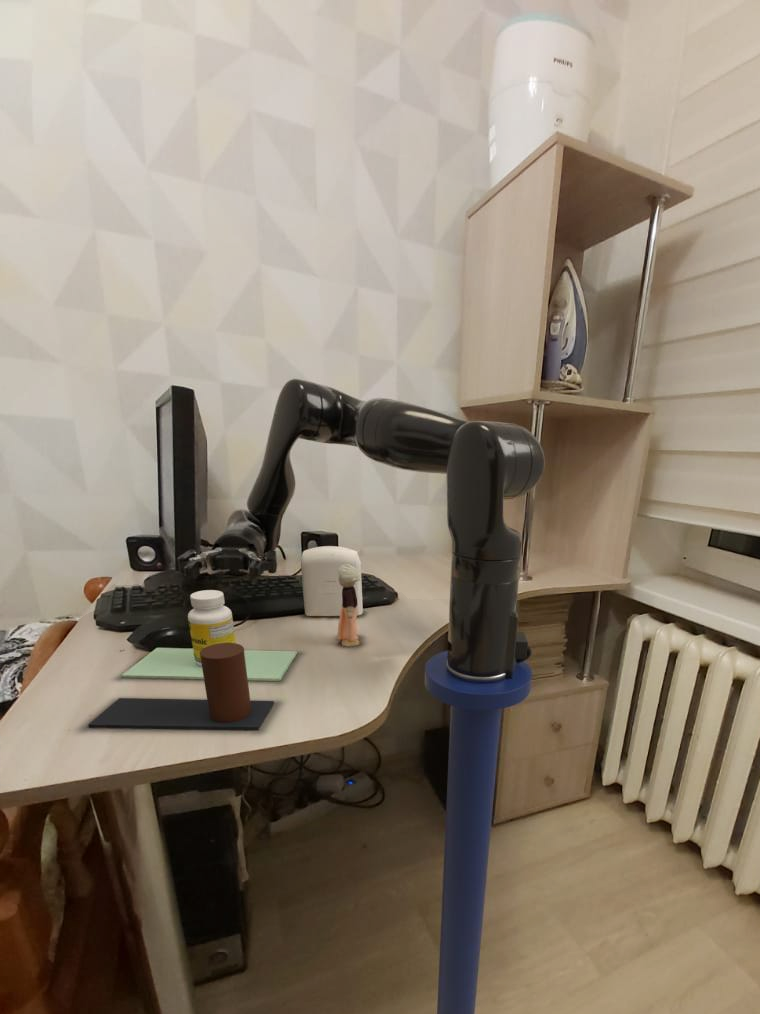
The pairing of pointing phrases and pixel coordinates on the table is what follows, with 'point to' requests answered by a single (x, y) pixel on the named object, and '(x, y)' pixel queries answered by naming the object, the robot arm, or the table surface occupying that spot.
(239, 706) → the brown cylinder
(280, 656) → the pale mat
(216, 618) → the supplement bottle
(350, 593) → the grandmother figurine
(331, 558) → the photo printer
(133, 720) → the dark mat
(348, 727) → the table surface
